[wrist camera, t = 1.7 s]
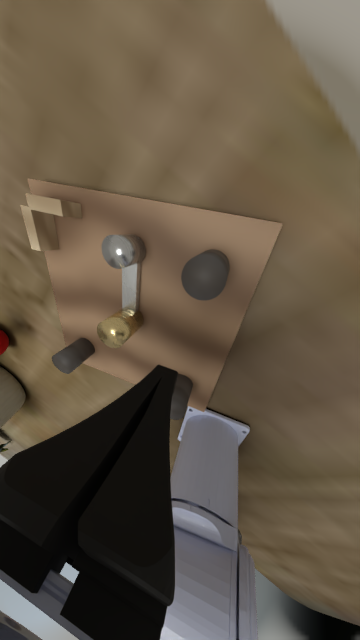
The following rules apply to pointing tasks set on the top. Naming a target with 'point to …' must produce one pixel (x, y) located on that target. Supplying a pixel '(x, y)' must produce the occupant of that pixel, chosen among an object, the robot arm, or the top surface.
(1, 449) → the passion flower
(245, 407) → the top surface
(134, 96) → the top surface
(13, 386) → the canister
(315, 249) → the top surface
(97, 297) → the wooden board with pegs
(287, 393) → the top surface
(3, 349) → the molecular model
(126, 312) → the metal crank handle
